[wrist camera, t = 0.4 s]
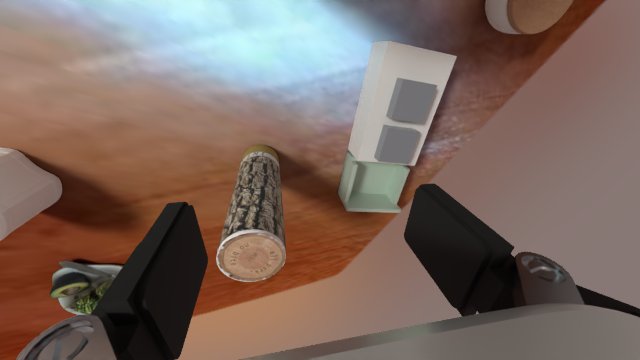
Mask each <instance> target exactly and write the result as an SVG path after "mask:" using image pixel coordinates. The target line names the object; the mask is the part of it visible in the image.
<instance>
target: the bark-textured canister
mask: <svg viewBox="0 0 640 360" xmlns="http://www.w3.org/2000/svg"><path fill="white" fill-rule="evenodd" d="M285 259H286V247H285V234H284V220H283V207H282V194H281V181H280V168H279V159H278V156H277V154H276V152H275V151H274V150H273V149H272V148H270V147H268V146H265V145H255V146H252V147H250V148H249V149H248V150H247V151H246V152H245V153H244V155H243V159H242V162H241V166H240V169H239V173H238V177H237V180H236V184H235V188H234V192H233V195H232V199H231V203H230V206H229V210H228V214H227V218H226V221H225V225H224V229H223V232H222V236H221V240H220V244H219V247H218V251H217V257H216V261H217V265H218V267H219V269H220V270H221V271H222V272H223V273H224V274H225V275H226V276H228V277H230V278H232V279H235V280H239V281H245V282H253V281H260V280H263V279H266V278H269V277H271V276H273V275H274V274H276V273H277V272H278V271H279V270H280V269H281V268H282V266H283V265H284V263H285Z"/></svg>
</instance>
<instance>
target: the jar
mask: <svg viewBox="0 0 640 360" xmlns="http://www.w3.org/2000/svg"><path fill="white" fill-rule="evenodd" d="M61 194H62V184H61V181H60V179H59V178H58V177H56V176H55V175H53V174H51V173H49V172H47V171H45V170H43V169H41V168H40V167H38V166H37V165H35V164H34V163H33V162H31V161H30V160H29V159H28V158H27V157H26V156H25V155H24V154H22V153H21V152H19V151H18V150H15V149H10V148H0V241H1V240H2V239H4V238H5V237H6V236H8V235H9V234H10V233H11V232H12V231H14V230H15V229H17V228H18V227H20V226H21V225H23V224H24V223H25V222H27V221H28V220H30V219H31V218H33V217H34V216H36V215H37V214H38V213H40V212H41V211H43V210H44V209H46V208H48V207H50V206H51V205H53V204H54V203H55V202H57V201H58V200H59V198H60V197H61Z"/></svg>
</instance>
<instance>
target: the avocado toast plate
mask: <svg viewBox="0 0 640 360" xmlns="http://www.w3.org/2000/svg"><path fill="white" fill-rule="evenodd" d="M59 263H60V265H62V266H63V267H62V268H60V269H59V270H57V271H56V272H55V273H54V275H53V277H52V283H53V287H52V290H51V292H50V297H51V298H56V299H59V302H60V304H61V306H62V307H63V308H64V309H65V310H67V311H69V312H71V313H74V314H77V315H84V314H91V312H92V311H93V310H94V308H95V307H96V305H97V304H98V302H99V301H100V299H101V298H102V296H103V295H104V294H105V292H106V291H107V289H108V288H109V286H110V285H111V283H112V282H113V280H114V279H115V278H116V276H117V275H118V273H119V272H120V270H121V269H122V267H123V266H122V265H114V264H91V263H77V262H69V261H64V262H59Z"/></svg>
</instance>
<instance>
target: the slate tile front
mask: <svg viewBox="0 0 640 360" xmlns="http://www.w3.org/2000/svg"><path fill="white" fill-rule="evenodd" d="M436 88H437V85H434V84H429V83H424V82H418V81H413V80H408V79H402V78H397V80H396V83H395V87H394V90H393V94H392V97H391V100H390V104H389V107H388V111H387V114H386V116H387V117H389V118H391V119H396V120H403V121H411V122H418V123H424V120H425V118H426V115H427V112H428V110H429V107H430V104H431V101H432V99H433V96H434V93H435V91H436Z"/></svg>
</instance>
